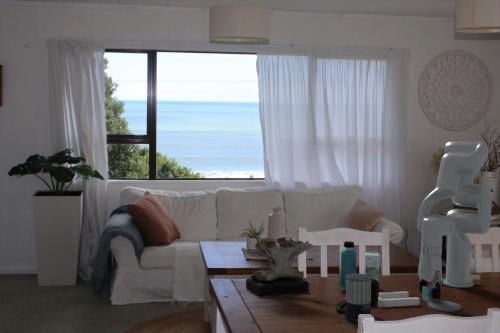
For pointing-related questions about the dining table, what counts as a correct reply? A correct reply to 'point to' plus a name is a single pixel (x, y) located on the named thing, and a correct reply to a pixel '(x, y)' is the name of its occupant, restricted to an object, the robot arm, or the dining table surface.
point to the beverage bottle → (347, 263)
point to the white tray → (396, 299)
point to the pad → (444, 306)
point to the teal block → (428, 294)
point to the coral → (279, 269)
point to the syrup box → (372, 265)
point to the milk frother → (359, 296)
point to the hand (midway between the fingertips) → (429, 295)
